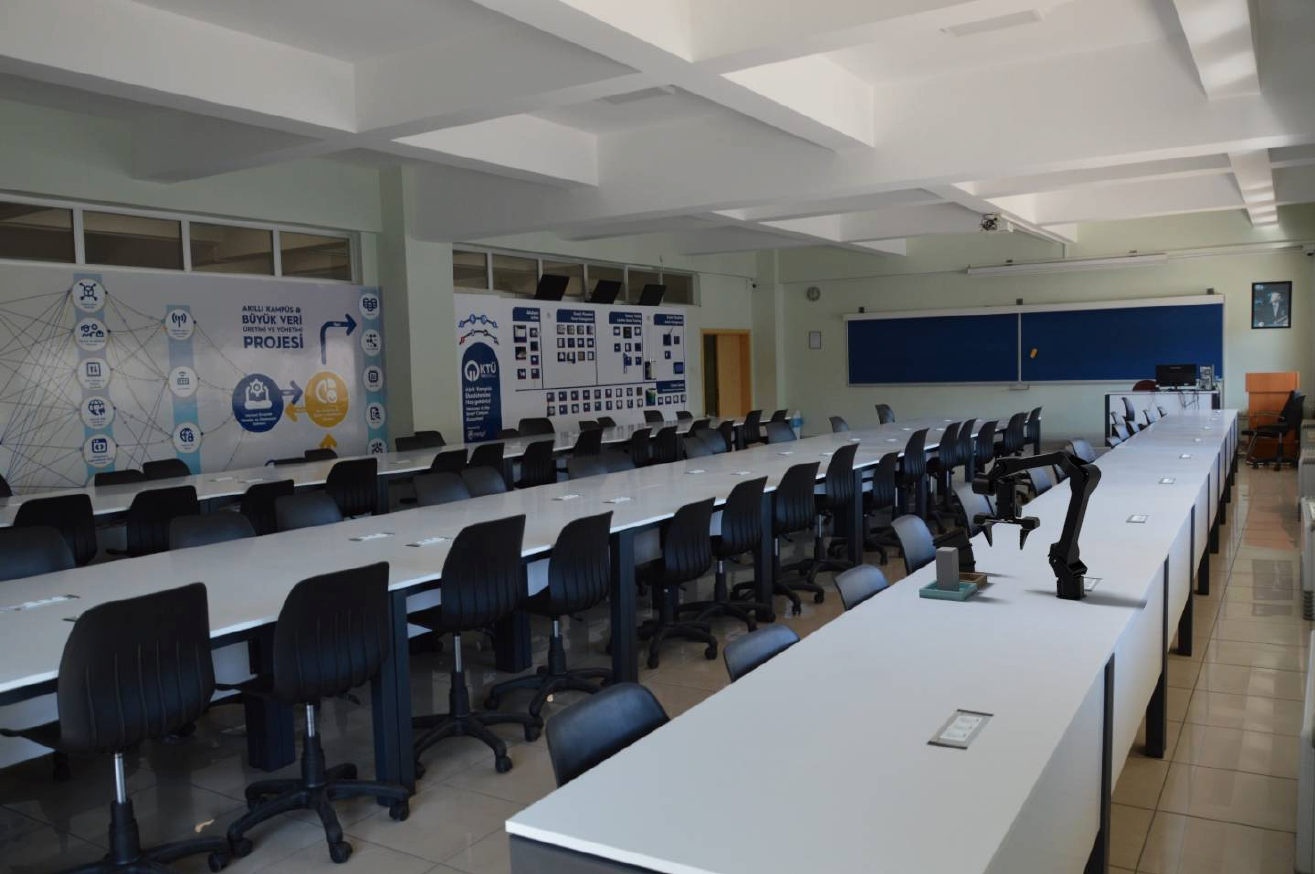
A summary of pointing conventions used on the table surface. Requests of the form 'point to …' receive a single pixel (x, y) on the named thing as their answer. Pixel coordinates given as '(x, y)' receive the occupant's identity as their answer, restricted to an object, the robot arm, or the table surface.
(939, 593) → the teal tray
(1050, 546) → the robot arm
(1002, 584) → the table surface
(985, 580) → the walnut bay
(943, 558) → the grey lidded box
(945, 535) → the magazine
